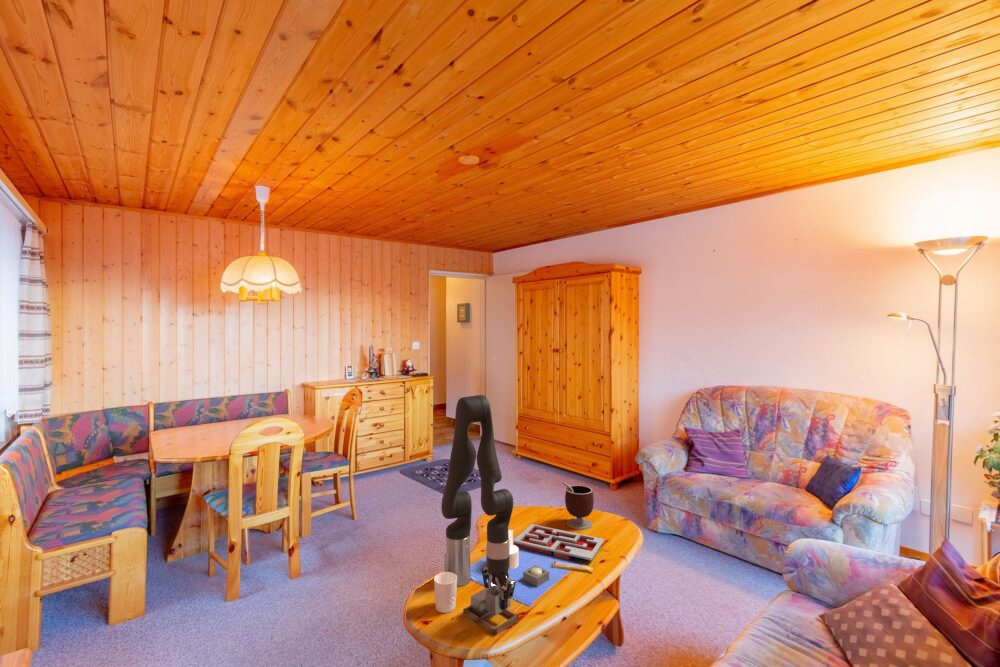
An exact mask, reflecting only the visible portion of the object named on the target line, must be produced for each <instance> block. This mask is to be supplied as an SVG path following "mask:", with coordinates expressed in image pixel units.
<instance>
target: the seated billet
mask: <svg viewBox="0 0 1000 667" xmlns="http://www.w3.org/2000/svg"><path fill="white" fill-rule="evenodd" d="M486 590H488V589H487V588H485V587H484V588H483V589H482V590H480V591H478V592H476V593H475V594H473V595H470V605H471V612H472V613H473V614H475V615H476V616H478V617H479V618H480V617H482V616H484V615H485V614H487V613H489V611H487V610H486Z"/></svg>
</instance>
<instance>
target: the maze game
mask: <svg viewBox="0 0 1000 667" xmlns="http://www.w3.org/2000/svg"><path fill="white" fill-rule="evenodd" d="M604 542H605V539H604V538H600V537H595V536H593V535H592V536H591V535H587V534H583V533H582V534H581V533H576V532H571V531H567V530H561V529H557V528H552V527H548V526H543V525H539V524H532V523H531V524H530V525H528V526H527V527H526V529H524V530H523V531H522V532H521V533H520V534H519V535H518V536H517V537H516V538H515V539H513V544H514V543H515V544H518V548H523V549H527V550H531V551H535V552H539V553H544V554H549V555H551V554H552V553H553V557H557V558H561V559H565V560H570V559H571V558H572V557H574V558H579V559H583V560H588V561H592V560H593V559H594V557H595V556H596V554H597V553H598V551H599V549H600V548H601V546H602V545H603V543H604Z"/></svg>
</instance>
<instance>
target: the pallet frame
mask: <svg viewBox="0 0 1000 667" xmlns="http://www.w3.org/2000/svg"><path fill="white" fill-rule="evenodd" d="M462 612H463V613H462V614H463V616H465V617H467V618H469V619H470V620H471V621H473V622H475V623H476V624H477V625H479V626H481V627H482V628H484V629H485V630H486V631H488V632H489V633H491V634H492V635H494V636H497V635H499V634H500V633H502V632H503V631H505V630H507V629H508V628H509V627H511V626H512V625H514V624H515V623H517V622H518V621H519V620H520V617H519V616H520V614H517V613H515V612H514V611H513V610H511V609H509V608H507V609H505V610H504V611H502V612H501V613H503V614H504V615H506V616H508V617H509V618H508V619H507V620H506V621H504V622H502V623H501V624H499V625H498V626H496V627H495V626H493V625H492V624H490V623H489V622H487V621H489V620H490V619H492V618H493V617H495V615H494V614H492V613H491V612H489V613H487V614H485V615H484V616H482V617H480V618H479V617H478V616H476V615H475V614H473V613H472V612H471V604H469V605H468V606H466V607H464V608H463V610H462Z"/></svg>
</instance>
